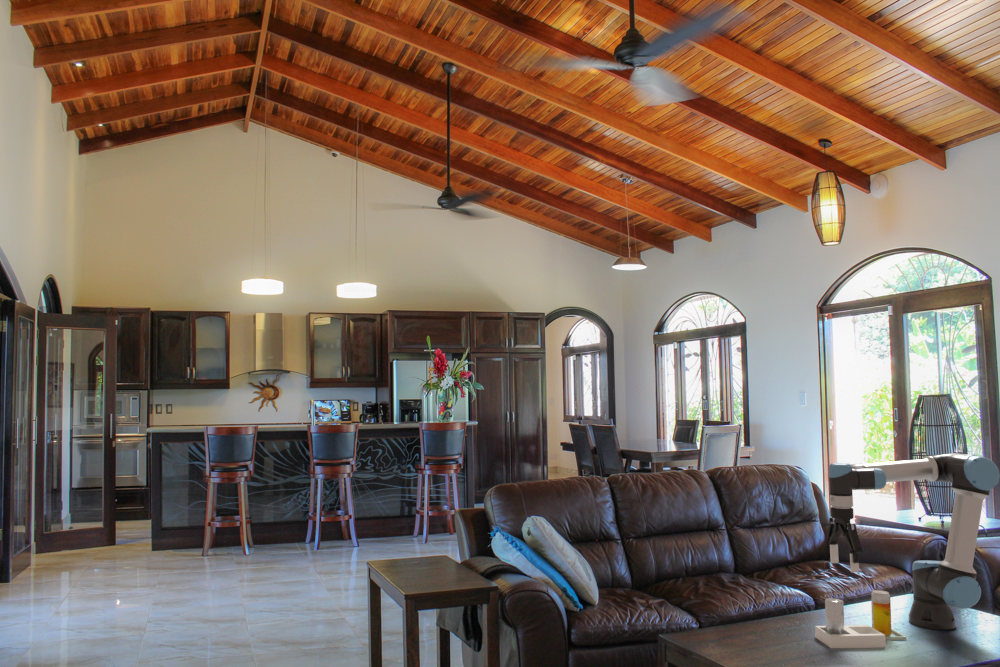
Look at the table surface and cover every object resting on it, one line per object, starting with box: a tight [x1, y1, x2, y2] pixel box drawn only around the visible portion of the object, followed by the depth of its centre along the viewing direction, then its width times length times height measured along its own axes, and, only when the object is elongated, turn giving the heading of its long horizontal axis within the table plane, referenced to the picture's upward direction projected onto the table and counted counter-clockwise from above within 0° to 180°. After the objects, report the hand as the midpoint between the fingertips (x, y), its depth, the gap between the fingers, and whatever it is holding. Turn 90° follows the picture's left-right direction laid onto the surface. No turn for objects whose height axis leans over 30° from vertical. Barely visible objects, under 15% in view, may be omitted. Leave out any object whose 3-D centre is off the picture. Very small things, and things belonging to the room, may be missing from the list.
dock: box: [814, 624, 887, 649], centre depth 259 cm, size 19×11×4 cm, turn 94°
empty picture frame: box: [885, 628, 908, 641], centre depth 268 cm, size 11×11×1 cm
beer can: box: [870, 589, 892, 637], centre depth 269 cm, size 6×6×15 cm
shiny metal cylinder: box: [824, 597, 845, 635], centre depth 259 cm, size 6×6×14 cm
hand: (844, 567), depth 267 cm, fingers open, 13 cm apart
